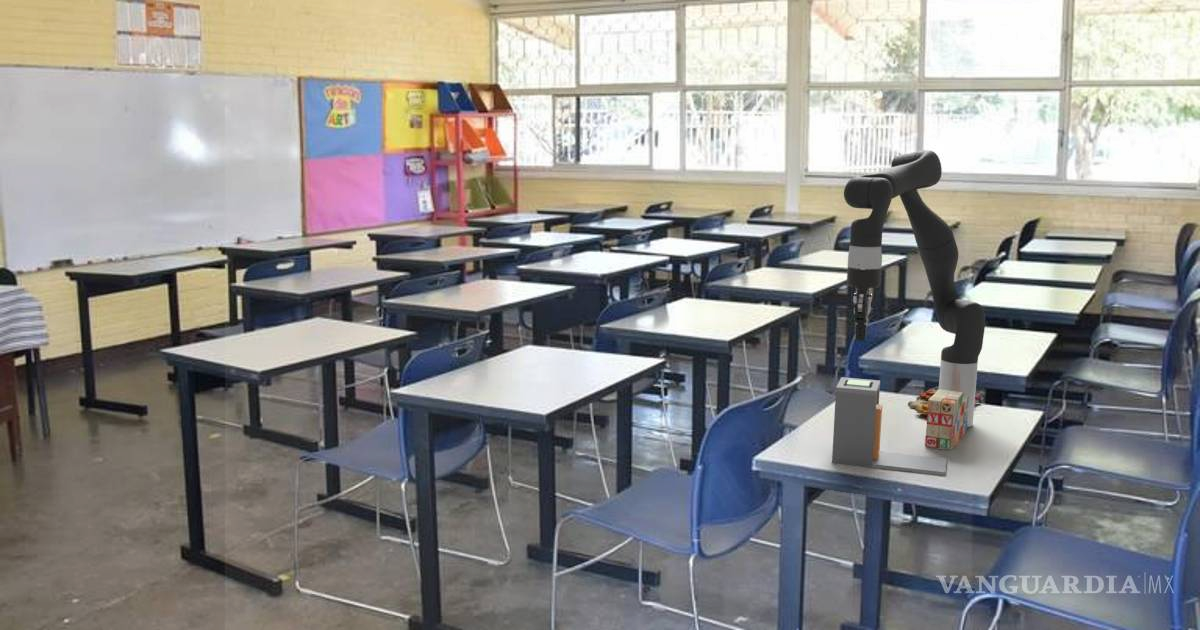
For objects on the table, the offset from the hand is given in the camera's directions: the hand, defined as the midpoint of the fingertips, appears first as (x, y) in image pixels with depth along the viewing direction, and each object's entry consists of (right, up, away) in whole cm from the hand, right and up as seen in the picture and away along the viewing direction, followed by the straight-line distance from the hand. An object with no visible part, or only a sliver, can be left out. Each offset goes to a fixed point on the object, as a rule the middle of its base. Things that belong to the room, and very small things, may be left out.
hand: (860, 340), depth 238 cm
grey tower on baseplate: (+7, -29, +2) cm, 30 cm away
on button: (0, -15, +3) cm, 15 cm away
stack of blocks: (+28, -26, +23) cm, 44 cm away
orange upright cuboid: (+1, -28, +4) cm, 28 cm away
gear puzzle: (+36, -20, +54) cm, 68 cm away
